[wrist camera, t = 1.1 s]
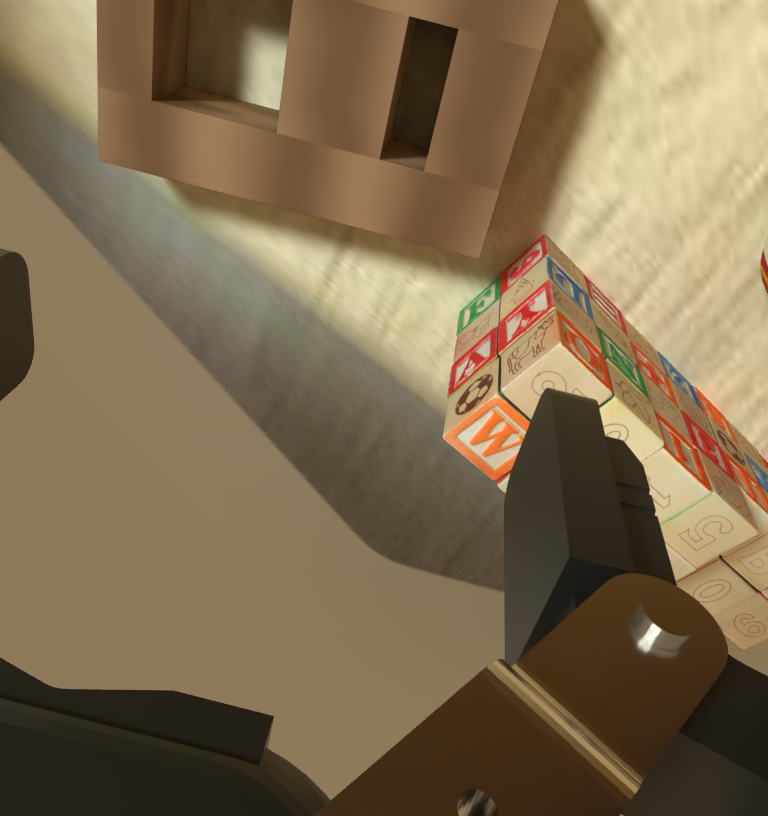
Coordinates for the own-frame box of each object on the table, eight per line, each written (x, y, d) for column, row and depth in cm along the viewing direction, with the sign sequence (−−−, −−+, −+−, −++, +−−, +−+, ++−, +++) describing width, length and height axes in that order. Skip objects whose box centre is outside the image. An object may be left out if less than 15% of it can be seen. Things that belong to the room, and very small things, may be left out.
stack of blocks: (790, 479, 41) (887, 652, 31) (697, 532, 44) (757, 706, 34) (542, 230, 35) (560, 342, 25) (454, 311, 38) (439, 440, 28)
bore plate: (136, 141, 36) (98, 160, 32) (140, -155, 29) (94, -169, 26) (480, 230, 36) (478, 259, 32) (563, -45, 29) (571, -45, 26)
